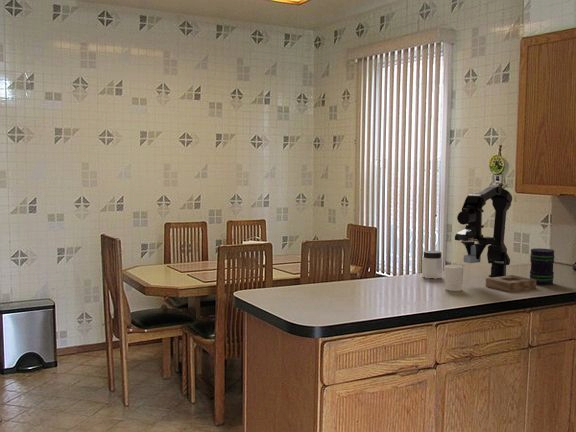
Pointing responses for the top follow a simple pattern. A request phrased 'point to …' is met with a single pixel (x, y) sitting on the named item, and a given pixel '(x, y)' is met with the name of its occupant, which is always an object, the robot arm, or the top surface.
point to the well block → (511, 283)
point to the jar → (432, 264)
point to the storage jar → (542, 266)
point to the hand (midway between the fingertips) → (473, 258)
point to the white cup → (453, 277)
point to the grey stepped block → (472, 256)
